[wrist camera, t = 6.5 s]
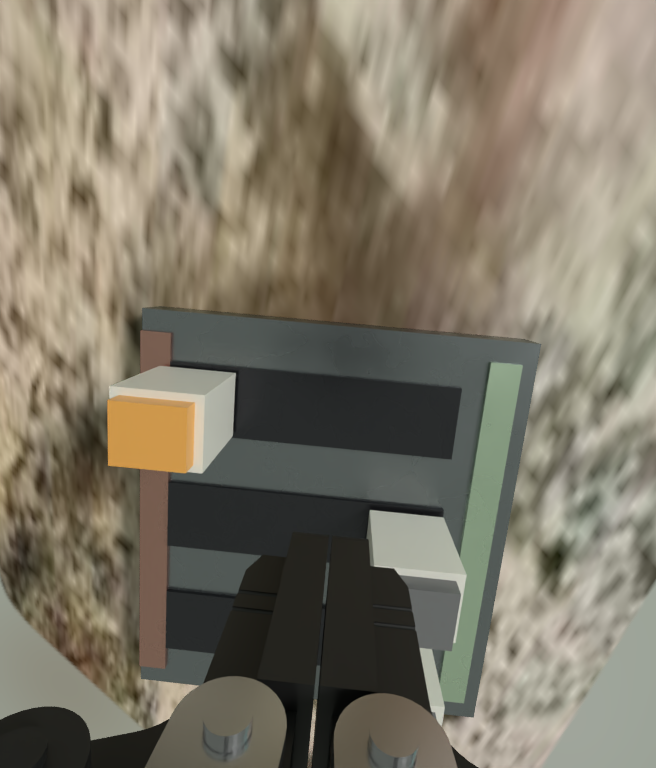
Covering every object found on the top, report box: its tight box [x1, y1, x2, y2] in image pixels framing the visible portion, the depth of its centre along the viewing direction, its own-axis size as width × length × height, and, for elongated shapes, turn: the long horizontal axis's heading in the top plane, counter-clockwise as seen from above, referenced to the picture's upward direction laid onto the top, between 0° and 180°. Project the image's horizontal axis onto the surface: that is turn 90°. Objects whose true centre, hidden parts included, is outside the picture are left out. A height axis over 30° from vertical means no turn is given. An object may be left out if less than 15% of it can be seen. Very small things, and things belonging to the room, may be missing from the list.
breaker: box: [366, 510, 467, 651], centre depth 20 cm, size 3×4×5 cm
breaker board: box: [139, 306, 541, 717], centre depth 24 cm, size 20×18×2 cm
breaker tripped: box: [107, 366, 236, 473], centre depth 19 cm, size 3×4×5 cm
